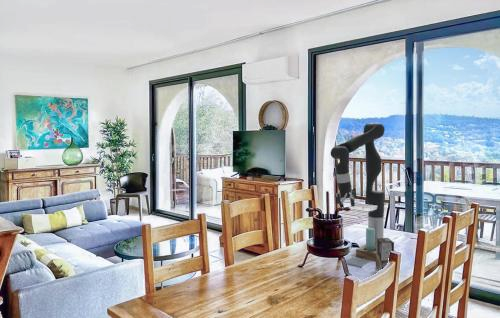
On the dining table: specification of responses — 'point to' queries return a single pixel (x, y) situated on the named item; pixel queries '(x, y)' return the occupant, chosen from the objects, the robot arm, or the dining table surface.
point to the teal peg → (370, 239)
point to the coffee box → (383, 252)
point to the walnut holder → (365, 254)
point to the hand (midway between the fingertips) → (347, 208)
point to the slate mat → (357, 262)
